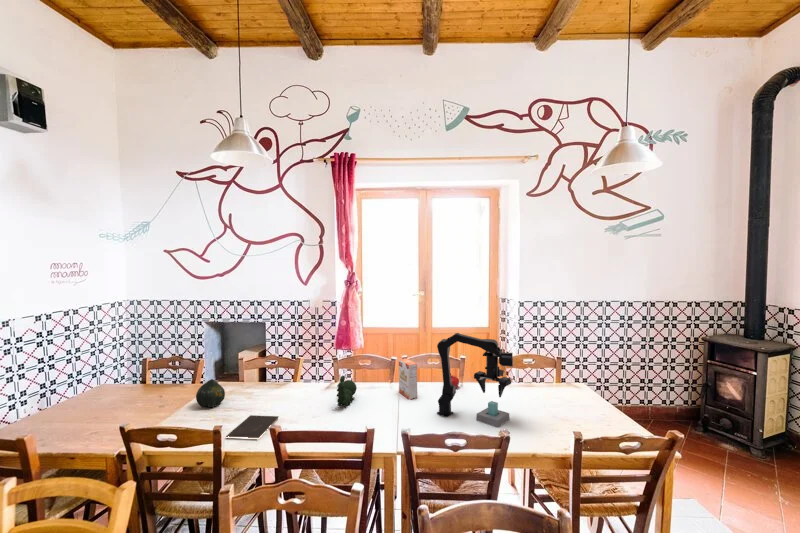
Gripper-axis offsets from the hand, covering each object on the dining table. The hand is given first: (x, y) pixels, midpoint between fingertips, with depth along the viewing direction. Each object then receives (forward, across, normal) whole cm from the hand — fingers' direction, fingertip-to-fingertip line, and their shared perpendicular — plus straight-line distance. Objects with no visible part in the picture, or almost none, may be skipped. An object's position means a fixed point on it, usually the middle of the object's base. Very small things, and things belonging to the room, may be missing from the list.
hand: (492, 394), depth 204 cm
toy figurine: (+13, +74, +35) cm, 83 cm away
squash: (+14, +128, +90) cm, 158 cm away
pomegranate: (+13, +44, -26) cm, 53 cm away
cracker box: (+13, +55, +3) cm, 57 cm away
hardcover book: (+14, +81, +88) cm, 120 cm away
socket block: (+13, -1, 0) cm, 13 cm away
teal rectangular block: (+12, 0, 0) cm, 12 cm away
